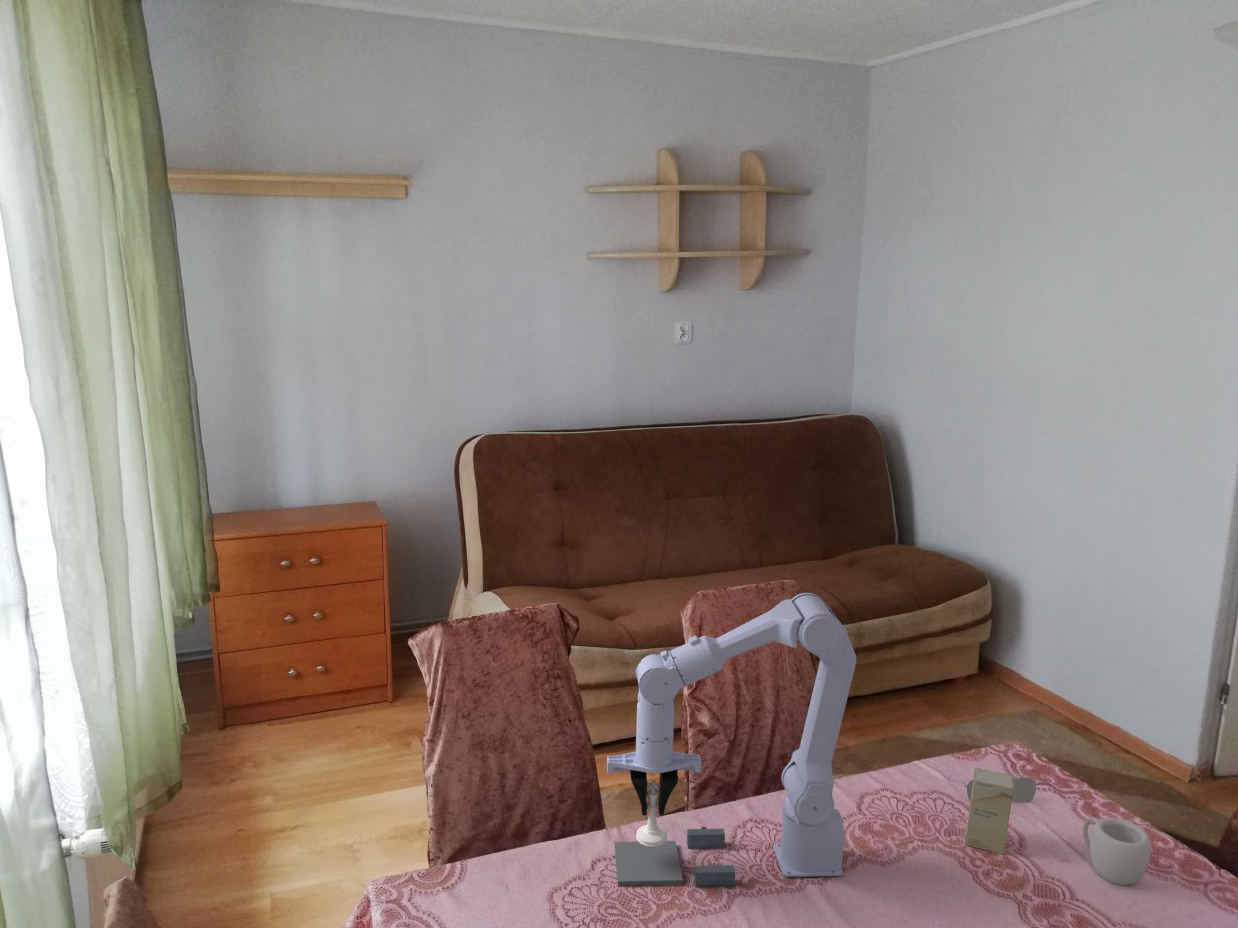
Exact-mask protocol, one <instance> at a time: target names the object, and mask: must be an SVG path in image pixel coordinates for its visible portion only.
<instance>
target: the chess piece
mask: <svg viewBox="0 0 1238 928" xmlns="http://www.w3.org/2000/svg"><path fill="white" fill-rule="evenodd" d="M647 783H648V784H647V788H649V789H647V796H646V797H647V798H648V801H647V810H648V815H647V817H648V818H647V824H644V825H642V826H639V828H638V829H637V831H636V835H635V837H636V842H639V843H641V844H642V845H645V846H649V847H657V846H660V845H662V844H664V843H665V842H666V841H668V832H667V830H666V829H665V828H664V827H662V826H660V825H658V823H657V822H658V819H657V810H658V809H659V804H658V797H659V794H660V792H659V787H660V783H659V784H657V783H656V780H655V779H653V780H651V783H650V782H647Z"/></svg>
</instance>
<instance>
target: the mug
mask: <svg viewBox="0 0 1238 928" xmlns="http://www.w3.org/2000/svg"><path fill="white" fill-rule="evenodd" d="M1092 822H1094V825H1093V827H1092V831H1091V833H1090V838H1089V825H1090V823H1092ZM1082 836H1083V840H1084V842H1085V844H1086V845H1087V847H1088V848H1089V855H1090V860H1091V863H1092V864H1091V865H1092V867H1093V868H1094V870H1095V871H1096V873H1097V875H1099V876H1100V877H1101V878H1102V879H1105V880H1106V881H1107V882H1110V883H1112V884H1116V885H1120V886H1131V885H1134V884H1136V883H1138V882H1139V881H1141V879H1142V877H1144V875H1145V874H1146V871H1147V869H1148V867H1149V864H1150V860H1151V856H1152V842H1151V839H1150V837H1149V834H1148V833H1147V832H1146V830H1144V829H1143V828H1142V827H1140V826H1139V825H1138V824H1135V823H1133V822H1130V821H1128V820H1126V819H1125V820H1124V819H1121V818H1117V817H1116V818H1115V817H1105V818H1101V819H1098V818H1097V817H1094V816H1089V817H1088V818H1087V819H1085V820H1084V823H1083V827H1082Z"/></svg>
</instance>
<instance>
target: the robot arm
mask: <svg viewBox="0 0 1238 928" xmlns="http://www.w3.org/2000/svg"><path fill="white" fill-rule="evenodd" d="M797 641H800V644H801V645H802V647H803V648H805V649H806V650H807V651H808V652H810V653H811V654H813V655H815V656H817V657H818V658H819V663H818V664H819V665H818V669H817V672H816V677H815V681H814V684H813V690H812V692H811V698H810V702H809V707H808V711H807V715H806V719H805V723H804V727H803V732H802V736H801V741H800V744H799V748H797V749H796V750H794V751H793V752H792V755H791V759H790V761H789V763H787V765H786V766H785V767H784V768H783V771H782V773H781V784H782V787H783V789H785V791H786V798H785V800H784V801H783V805H782V819H781V820H782V821H781V835H780V843H773V845H772V846H773V847H772V848H773V850H774V853H775V856H776V858H777V862H778V864H779V867H780V871H781V873H782V875H783V877H785V878H793V877H794V878H797V877H800V878H801V877H802V878H804V877H841V876H844V875H843V874H844V873H843V872H844V871H843V869H842V868H843V854H844V842H845V829H844V822H843V817H842V814H841V813H840V811H839V810H838V809H835V801H834V797H833V790H834V776H833V775H834V774H833V768H832V767H833V765H832V762H833V759H834V754H835V750H836V746H837V742H838V737H839V734H840V730H841V726H842V721H843V719H844V718H843V717H844V713H845V709H846V705H847V701H848V698H849V692H850V689H851V685H852V681H853V678H854V677H853V676H854V673H855V669H856V665H857V654H856V653H855V650H854V647H853V645H852V642H851V640H850V637H849V634H848V630H847V629H846V627H845V626H844V625H843V624H842V623H841V621H840V620H839V619H838V617H837V616H836V614H835V613H834V611H833V610H832V608H831V607H830V606H829V605H828V604H827V603H826V602H825V601H824V600H823V599H822V598H821V596H819V595H817V594H815V593H811V592H803V593H798V594H797V595H795V596H794V597H792V598H788V599H784V600H782V601H780V602H779V603H777V604H776V605H775V606H774V607H773V608H772V609H770V610H768V611H767V612H765V613H762V614H761V615H759V616H757V617H755V618H753V619H751V620H749V621H747V622H746V623H744V624H742V625H739V626H738V627H736V628H734V629H732V630H730V631H728V632H726V633H724V634H722V635H720V636H719V637H715V638H714V637H710V636H707V635H703V636H699V637H698V636H697V635H693V636H691V637H689V638H688V642H686V643H684V644H683V645H680V646H677V647H675V648H672V649H671V650H669V651H667V650H663V651H660V654H656V653H655V654H654V653H653V654H649V655H646V656H645V657H644V658H642V659H641V660H640V662H639V663H638V665H637V666H636V668H635V670H634V671H635V677H636V679H637V683H638V693H637V705H636V730H635V732H636V733H635V735H636V737H635V751H632V752H627V753H622V754H616V755H607V756H606V771H607V773H606V774H609V775H610V774H612V775H613V774H615V772H629V773H630V781H631V784H632V785H633V788H634V790H635V791H636V793H637V794H636V795H637V796H638V799H639V802H640V809H641V815H642V816H648V809H647V803H648V801H647V797H648V796H647V791H648V783H649V782H648V778H647V773H648V774H659V788H658V791H659V792H660V794H659V797H658V799H657V803H658V804H659V809H657V810H658V814H659V816H664V814H665V809H666V806H667V804H668V800H669V798H670V796H671V794H672V793H673V791H674V789H675V788H676V787H677V785H678V782H679V775H678V771H693V773H702V759H701V755H700V754H690V753H689V754H688V753H683V752H677V751H673V750H674V731H675V730H674V725H675V724H674V723H675V705H674V699H675V697H676V696H677V694H678V692H679V691H680V690H681V689H683V688H684V687H686V686H688V685H691V684H693V683H696V682H698V681H700V680H702V679H705V678H706V677H709V676H711V675H714V674H716V673H718V672H720V671H721V669H722V667H723V665H724V663H725V661H726V660H728V659H730V658H733V657H735V656H738V655H741V654H743V653H747V652H749V651H751V650H752V651H753V650H754V649H757V648H760V647H763V646H765V645H767V644H770V643H773V642H776V643H779V644H782V645H785V646H787V647H788V646H789V647H791V648H795V649H796V648H798V645H797Z"/></svg>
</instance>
